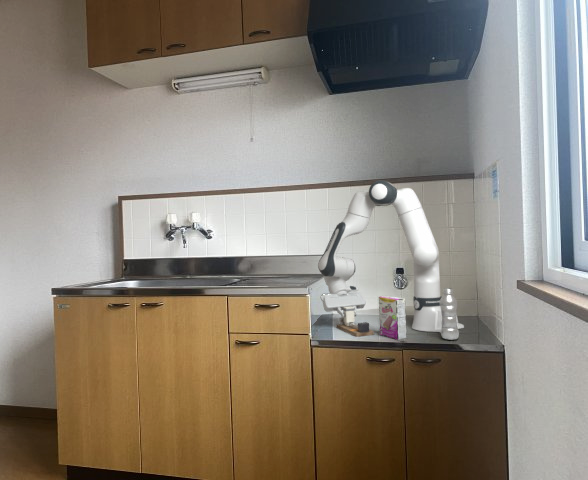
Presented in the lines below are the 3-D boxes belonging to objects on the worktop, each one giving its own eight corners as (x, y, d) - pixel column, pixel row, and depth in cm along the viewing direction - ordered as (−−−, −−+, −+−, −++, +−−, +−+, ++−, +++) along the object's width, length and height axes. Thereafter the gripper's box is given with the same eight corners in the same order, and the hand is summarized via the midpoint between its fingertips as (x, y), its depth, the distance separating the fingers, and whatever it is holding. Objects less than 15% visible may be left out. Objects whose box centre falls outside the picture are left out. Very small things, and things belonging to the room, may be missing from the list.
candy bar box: (379, 335, 176) (377, 296, 175) (388, 333, 178) (386, 295, 178) (398, 340, 166) (396, 299, 166) (407, 338, 168) (405, 298, 168)
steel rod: (348, 323, 195) (348, 315, 195) (369, 331, 176) (369, 323, 176) (340, 324, 193) (340, 316, 193) (360, 332, 175) (360, 324, 175)
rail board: (352, 325, 196) (351, 316, 196) (373, 334, 177) (373, 324, 177) (336, 327, 193) (336, 318, 193) (356, 336, 174) (356, 326, 174)
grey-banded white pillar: (351, 324, 192) (351, 306, 192) (354, 325, 189) (354, 307, 189) (343, 324, 190) (343, 307, 190) (346, 326, 187) (346, 308, 187)
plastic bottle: (460, 341, 160) (458, 289, 160) (442, 341, 162) (440, 289, 162) (457, 337, 167) (455, 287, 167) (439, 337, 168) (437, 287, 168)
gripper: (321, 289, 193) (330, 314, 183) (360, 286, 199) (371, 310, 190) (317, 298, 197) (326, 322, 188) (356, 294, 203) (367, 318, 194)
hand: (349, 316), depth 189 cm, fingers closed on grey-banded white pillar, 4 cm apart
